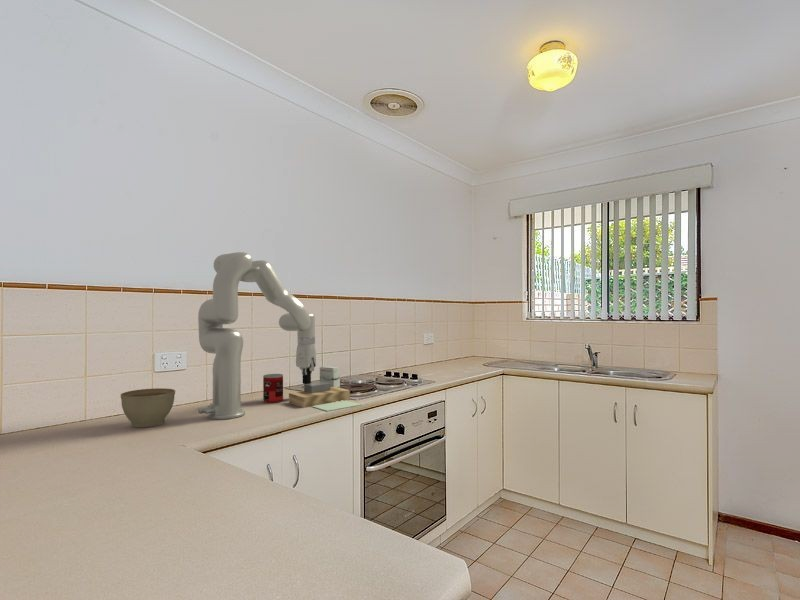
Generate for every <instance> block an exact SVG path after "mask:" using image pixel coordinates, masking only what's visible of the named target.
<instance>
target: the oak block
mask: <svg viewBox="0 0 800 600" xmlns="http://www.w3.org/2000/svg"><path fill="white" fill-rule="evenodd" d="M349 399H350V400H351V390H349V389H346V388H342V387H340V388H337V387H330V391H325V392H318V393H308V392H304V390H303V391H295V392H290V393H288V404H291V405H293V406H297V407H301V408H309V407H310V408H311V407H312V406H316V405H321V404H327V403H332V402H336V401H341V400H346V401H350V400H349Z"/></svg>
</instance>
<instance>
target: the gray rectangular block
mask: <svg viewBox="0 0 800 600" xmlns="http://www.w3.org/2000/svg"><path fill="white" fill-rule="evenodd" d="M303 391H304V392H308V393H318V392H325V391H330V383H326V382H320V381H319V382H313V383H312V382H311V383H310V384H303Z"/></svg>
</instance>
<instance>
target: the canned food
mask: <svg viewBox="0 0 800 600" xmlns="http://www.w3.org/2000/svg"><path fill="white" fill-rule="evenodd" d="M262 379H263V381H262V383H263V384H262V385H263V386H262V387H263V388H262V391H263V393H262V395H263V397H262V399H263V400H262V401H263V402H264V403H266V404H277V403H282V402H283V400H284V374H282V373H267V374H264V375H263V378H262Z"/></svg>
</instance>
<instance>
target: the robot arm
mask: <svg viewBox="0 0 800 600" xmlns="http://www.w3.org/2000/svg"><path fill="white" fill-rule="evenodd" d="M213 269H214V271H215V273H216V274H215V276H214V279H213V283H212V298H209V299H207V300H205V301H204V302H203V303H202V304H201V305H200V307H199V309H198V313H197V314H198V315H197V316H198V317H197V321H198V323H197V324H198V341H199V346H200V348H201V349H202V350H203V351H204V352H206V353H208V354H215V356H214V360H213V362H212V402H211V403H209V405H207V407H199V408H197V412H198V414H204V415H205V414H207V418H209V419H212V420H230V419H235V418H239V417H242V416H244V415H246V410H245V409H243V408H242V407H241V397H242V396H241V388H242V385H241V383H242V379H241V378H242V377H241V376H242V375H241V372H242V371H241V367H242V366H241V362H242V360H241V359H242V353H243V348H244V337H243V335H242V334H241V332H240V331H238V330H237V329H234V328H231V327H230V328H228V327H223V326H224V325H231V324H233V323H235V322H236V321H237V319H238V317H239V292H238V291H239V284H240V282H243V283H255V284H256V285H257V286H258V288H259V289H260V292H261V294H263V296H264V298H265V299H266V300H267V302H268V303H271V304H273V305H274V306H277V307H280V309H283V310H285V311H286V312H287V313H285V314H283V315H281V316H280V317H279V320H278V325H279V327H280V328H281V329H282V330H284V331H286V332H287V331H288V332H297V346H296V353H295V366H296V368H299V370H301V374H302V384H303V385H304V384H311V383H312V374H313V373H312V372H314V371H315V367H316V366H317V354H316V346H315V345H316V323H315V322H316V317H315V314H314V313H311V312H308V310H307V309H306V306H305V305H304V304H303V303H302V302H301V300H299V299H298V298H297V297H296V296H295V295H293V294H292V293H291V292H289V291H288V290H287V289H286V288H285V286H284V285H283V283H282V282H281V279H280V278H279V277H278V274H277V272H276V271H275V269H274V268H273V266H272V264H271V263H270V262H269V261H266V260H253V258H252V256H251V255H250V254H249V253H248V252H244V251H238V252H231V253H225V254H224V253H223V254H220V255H217V256H216V257H215V259H214V261H213Z"/></svg>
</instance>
